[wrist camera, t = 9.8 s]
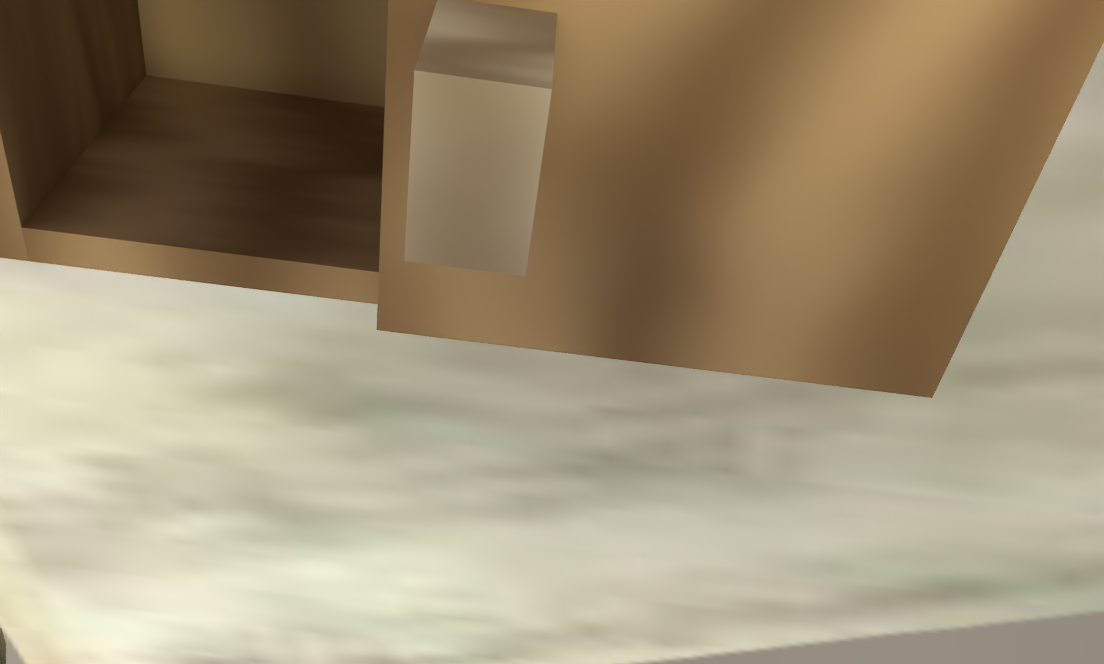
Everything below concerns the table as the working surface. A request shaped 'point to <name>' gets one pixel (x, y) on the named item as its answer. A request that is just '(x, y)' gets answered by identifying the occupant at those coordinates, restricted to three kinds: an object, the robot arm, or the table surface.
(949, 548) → the table surface
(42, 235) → the carton
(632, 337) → the lid
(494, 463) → the table surface
